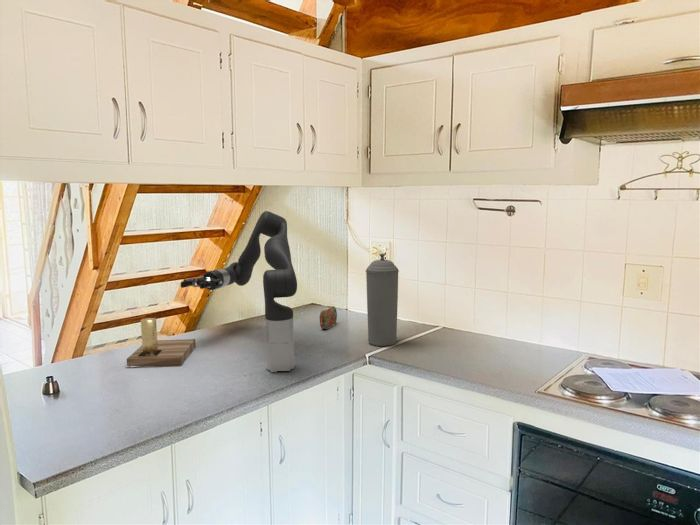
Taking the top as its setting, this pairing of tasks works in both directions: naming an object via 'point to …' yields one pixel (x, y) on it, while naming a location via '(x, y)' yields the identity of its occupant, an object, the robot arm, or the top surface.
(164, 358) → the jig
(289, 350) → the robot arm
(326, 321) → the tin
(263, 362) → the top surface
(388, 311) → the canister
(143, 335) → the brass cylinder
